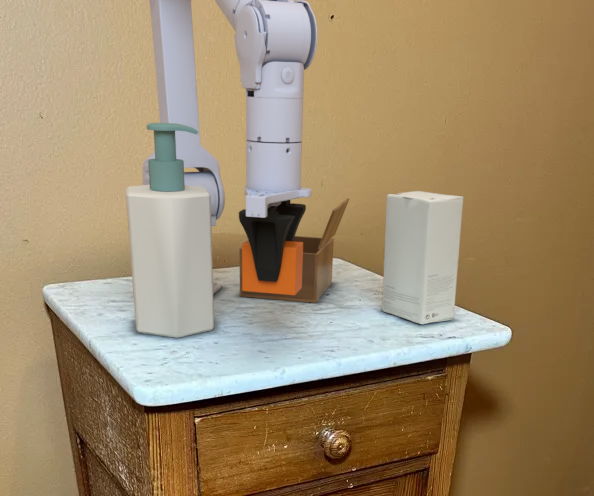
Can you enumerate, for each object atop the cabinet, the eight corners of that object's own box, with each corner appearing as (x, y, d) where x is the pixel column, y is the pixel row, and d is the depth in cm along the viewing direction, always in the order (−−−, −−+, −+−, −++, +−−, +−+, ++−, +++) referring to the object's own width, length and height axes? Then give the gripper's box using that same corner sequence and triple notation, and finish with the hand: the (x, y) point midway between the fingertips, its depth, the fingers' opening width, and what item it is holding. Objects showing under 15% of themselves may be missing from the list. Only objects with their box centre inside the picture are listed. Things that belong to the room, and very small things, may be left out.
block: (295, 295, 84) (296, 248, 82) (242, 291, 85) (241, 244, 83) (301, 288, 87) (303, 242, 85) (250, 283, 88) (250, 238, 86)
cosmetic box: (454, 320, 99) (469, 196, 92) (418, 326, 96) (432, 199, 89) (411, 305, 105) (422, 188, 98) (376, 310, 102) (386, 190, 95)
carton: (261, 277, 117) (261, 233, 114) (331, 283, 115) (333, 238, 112) (239, 296, 107) (239, 248, 104) (316, 303, 105) (318, 254, 102)
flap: (347, 198, 109) (349, 198, 109) (333, 233, 112) (335, 234, 112) (332, 210, 99) (334, 211, 99) (317, 248, 102) (319, 249, 102)
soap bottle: (216, 337, 90) (211, 127, 80) (137, 339, 89) (121, 125, 78) (207, 313, 99) (201, 121, 88) (134, 315, 97) (119, 119, 87)
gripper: (296, 148, 72) (293, 295, 79) (325, 138, 84) (320, 265, 91) (224, 145, 73) (226, 289, 80) (263, 134, 86) (262, 261, 92)
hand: (272, 276), depth 86 cm, fingers closed on block, 3 cm apart
